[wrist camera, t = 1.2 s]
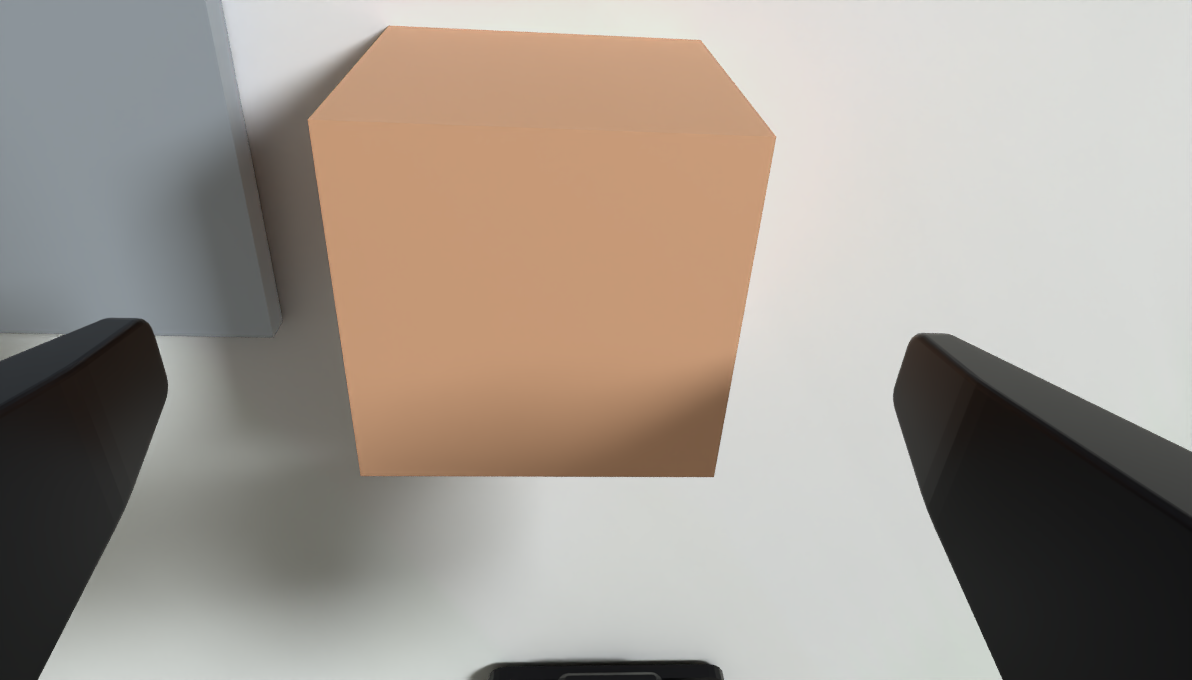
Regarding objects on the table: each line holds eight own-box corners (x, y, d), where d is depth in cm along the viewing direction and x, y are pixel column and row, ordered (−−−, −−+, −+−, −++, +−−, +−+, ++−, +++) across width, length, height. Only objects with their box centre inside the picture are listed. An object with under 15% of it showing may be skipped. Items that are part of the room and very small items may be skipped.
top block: (667, 303, 15) (713, 477, 11) (413, 298, 15) (360, 476, 11) (699, 39, 13) (776, 137, 8) (389, 25, 12) (306, 119, 8)
